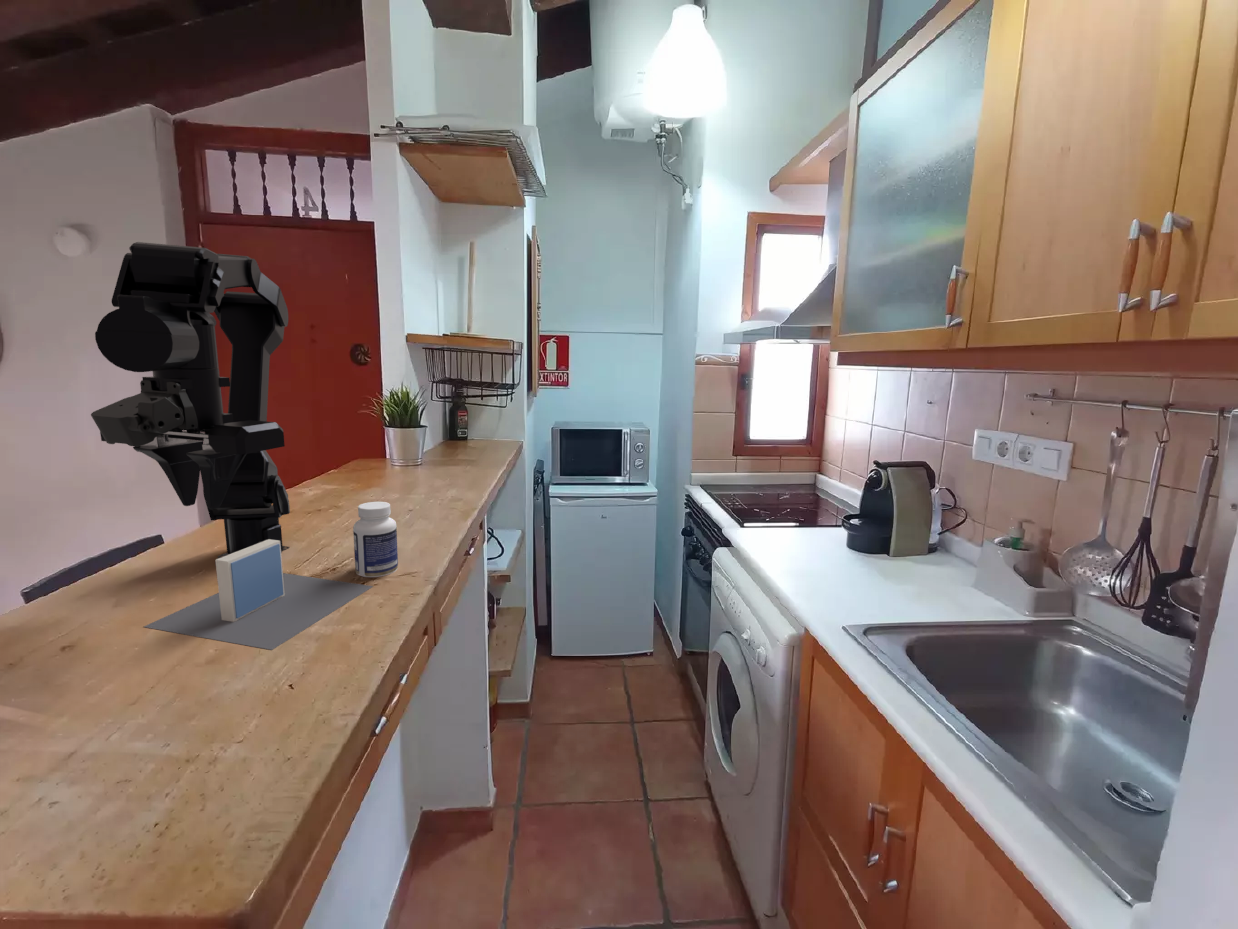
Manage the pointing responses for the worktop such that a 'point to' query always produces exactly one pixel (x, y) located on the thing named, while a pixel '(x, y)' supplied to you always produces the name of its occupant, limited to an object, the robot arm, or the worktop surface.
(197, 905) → the worktop surface
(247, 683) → the worktop surface
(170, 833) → the worktop surface
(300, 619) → the mat
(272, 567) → the tile
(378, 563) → the pill bottle
